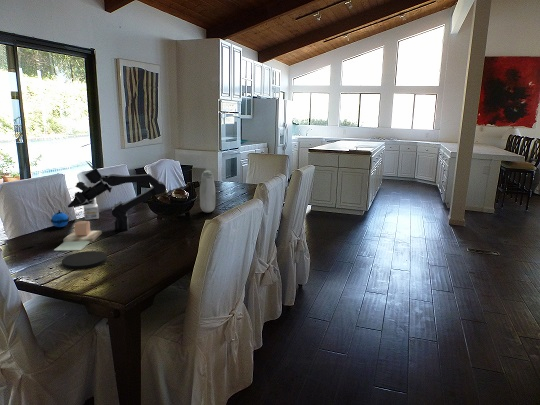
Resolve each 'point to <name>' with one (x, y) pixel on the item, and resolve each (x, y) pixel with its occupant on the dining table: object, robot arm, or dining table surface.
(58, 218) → the ornament
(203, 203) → the white tall cylinder
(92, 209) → the container
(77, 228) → the salmon pink cube
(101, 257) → the wireless charger
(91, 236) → the post base
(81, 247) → the mat
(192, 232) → the dining table surface
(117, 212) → the robot arm
